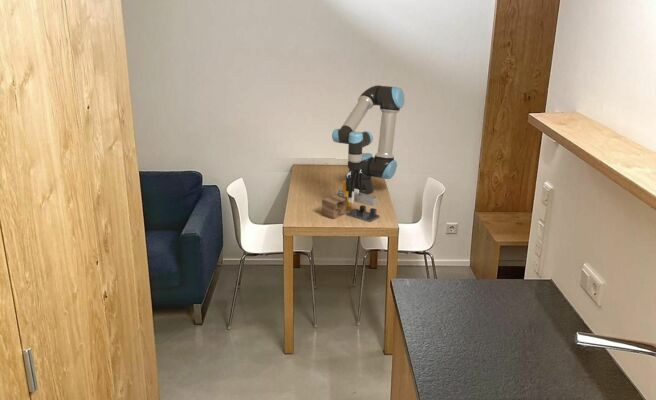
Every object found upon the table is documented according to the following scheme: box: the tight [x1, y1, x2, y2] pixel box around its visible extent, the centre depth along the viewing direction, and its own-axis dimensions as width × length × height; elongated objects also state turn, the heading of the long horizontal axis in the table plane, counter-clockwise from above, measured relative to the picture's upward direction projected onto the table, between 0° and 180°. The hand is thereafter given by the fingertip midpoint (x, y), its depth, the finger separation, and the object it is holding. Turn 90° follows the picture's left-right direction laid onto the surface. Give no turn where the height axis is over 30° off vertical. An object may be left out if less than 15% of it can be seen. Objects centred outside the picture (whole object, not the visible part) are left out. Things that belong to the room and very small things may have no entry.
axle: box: [353, 192, 378, 207], centre depth 334 cm, size 4×15×4 cm, turn 51°
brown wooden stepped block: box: [321, 193, 348, 220], centre depth 338 cm, size 12×8×9 cm, turn 141°
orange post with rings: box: [336, 179, 354, 208], centre depth 350 cm, size 12×10×15 cm
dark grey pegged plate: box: [345, 204, 380, 223], centre depth 337 cm, size 9×16×4 cm, turn 51°
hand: (353, 201), depth 339 cm, fingers closed on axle, 4 cm apart
